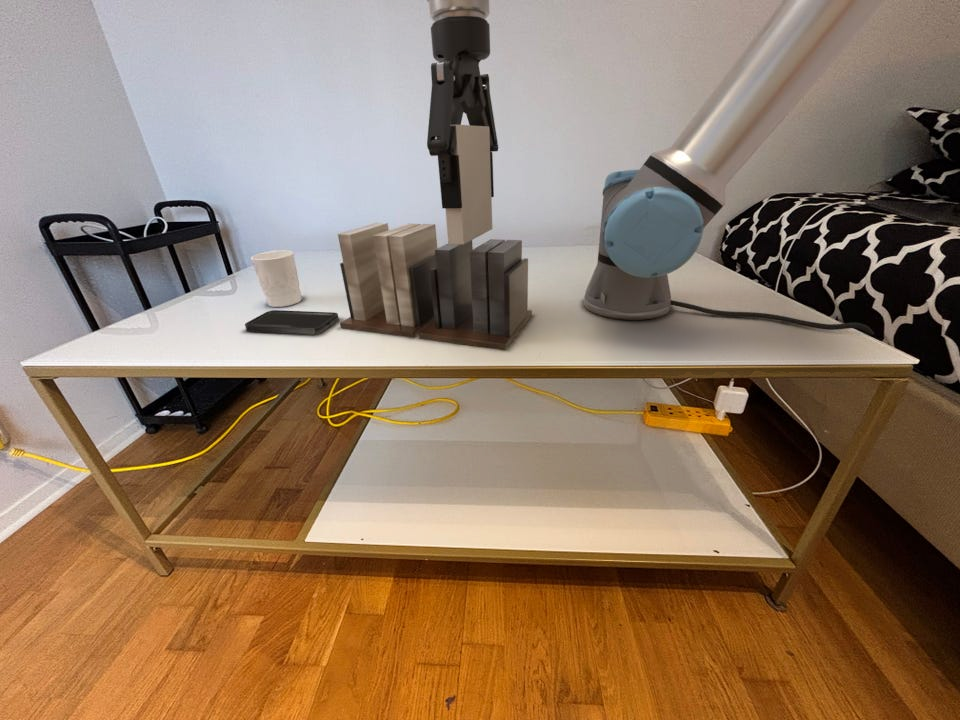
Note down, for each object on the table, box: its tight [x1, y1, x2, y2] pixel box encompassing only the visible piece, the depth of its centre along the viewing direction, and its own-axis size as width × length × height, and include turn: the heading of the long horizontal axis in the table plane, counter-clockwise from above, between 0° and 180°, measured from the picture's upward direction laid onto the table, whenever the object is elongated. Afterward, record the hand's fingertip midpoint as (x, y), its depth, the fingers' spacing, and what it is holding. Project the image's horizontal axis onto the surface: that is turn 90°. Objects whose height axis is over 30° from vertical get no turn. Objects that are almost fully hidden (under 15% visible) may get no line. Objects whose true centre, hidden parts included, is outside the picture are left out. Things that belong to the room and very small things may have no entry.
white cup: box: [250, 250, 303, 308], centre depth 85 cm, size 8×8×10 cm
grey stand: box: [418, 238, 533, 351], centre depth 68 cm, size 15×15×14 cm
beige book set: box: [337, 222, 438, 339], centre depth 73 cm, size 15×15×16 cm
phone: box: [244, 309, 340, 336], centre depth 75 cm, size 8×1×15 cm
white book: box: [444, 124, 493, 244], centre depth 61 cm, size 2×12×15 cm, turn 158°
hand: (470, 202), depth 62 cm, fingers closed on white book, 12 cm apart
